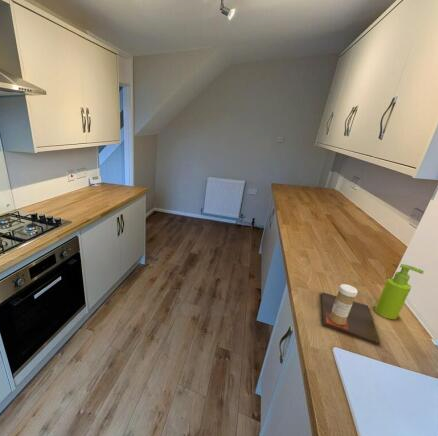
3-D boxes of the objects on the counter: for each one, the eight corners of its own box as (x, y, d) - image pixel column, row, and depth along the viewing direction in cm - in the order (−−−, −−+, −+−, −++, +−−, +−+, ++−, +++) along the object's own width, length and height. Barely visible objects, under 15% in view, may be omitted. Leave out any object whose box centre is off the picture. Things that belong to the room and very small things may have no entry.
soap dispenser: (399, 323, 82) (423, 274, 75) (373, 312, 87) (393, 265, 80) (402, 315, 85) (425, 267, 78) (376, 305, 90) (395, 259, 83)
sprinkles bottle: (332, 314, 84) (344, 282, 79) (348, 322, 80) (360, 289, 76) (326, 318, 82) (337, 285, 77) (341, 327, 78) (354, 293, 73)
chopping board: (321, 294, 96) (322, 291, 96) (367, 308, 89) (368, 305, 88) (323, 325, 80) (324, 322, 80) (378, 345, 73) (379, 342, 73)
